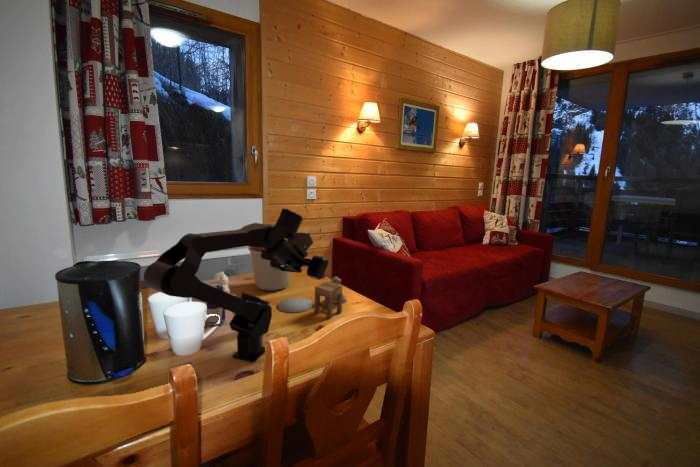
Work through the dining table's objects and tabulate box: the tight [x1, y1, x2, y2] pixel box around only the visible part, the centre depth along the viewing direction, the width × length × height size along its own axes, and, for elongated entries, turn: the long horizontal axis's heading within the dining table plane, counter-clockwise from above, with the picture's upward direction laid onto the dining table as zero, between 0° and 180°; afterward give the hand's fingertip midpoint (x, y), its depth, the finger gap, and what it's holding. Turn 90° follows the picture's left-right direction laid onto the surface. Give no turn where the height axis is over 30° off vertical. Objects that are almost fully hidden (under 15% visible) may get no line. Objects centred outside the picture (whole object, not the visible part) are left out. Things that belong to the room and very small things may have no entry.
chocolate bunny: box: [329, 275, 348, 304], centre depth 121 cm, size 6×8×10 cm
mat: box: [277, 297, 314, 314], centre depth 117 cm, size 12×12×1 cm
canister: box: [247, 246, 292, 292], centre depth 133 cm, size 18×18×21 cm
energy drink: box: [205, 282, 227, 326], centre depth 102 cm, size 5×5×12 cm
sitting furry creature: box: [214, 271, 237, 297], centre depth 115 cm, size 10×9×12 cm
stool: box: [314, 281, 343, 320], centre depth 111 cm, size 6×6×10 cm
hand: (312, 274), depth 104 cm, fingers open, 9 cm apart
